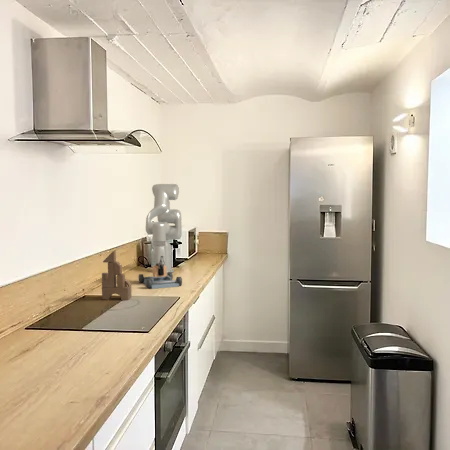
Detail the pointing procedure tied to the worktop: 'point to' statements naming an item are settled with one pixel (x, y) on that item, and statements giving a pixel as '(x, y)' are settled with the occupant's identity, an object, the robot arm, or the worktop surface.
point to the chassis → (160, 281)
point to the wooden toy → (110, 280)
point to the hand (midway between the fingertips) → (159, 274)
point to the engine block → (155, 271)
